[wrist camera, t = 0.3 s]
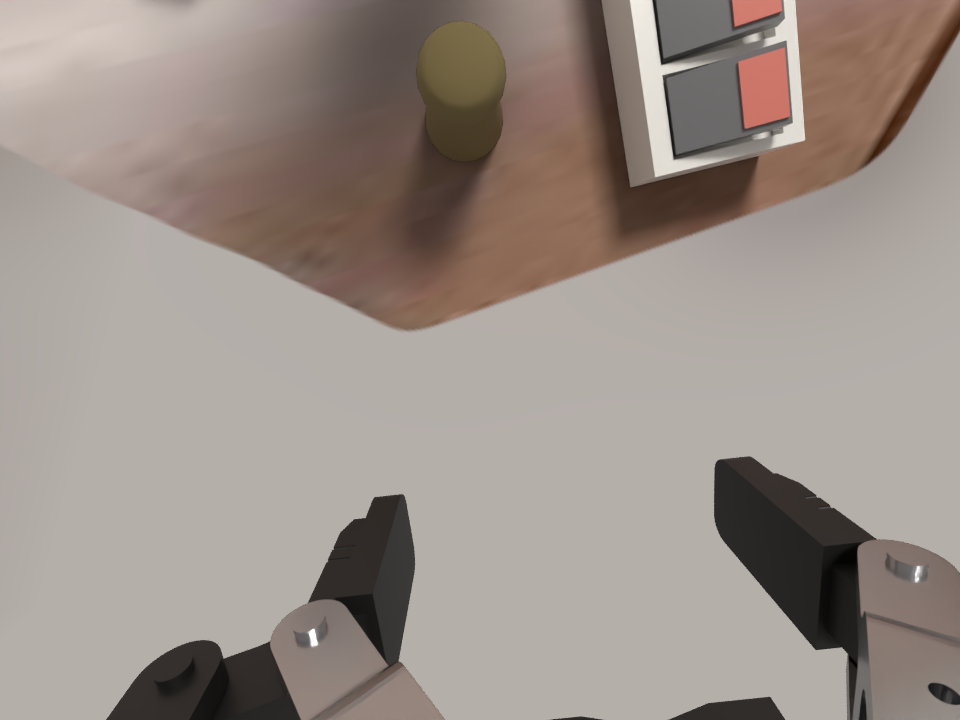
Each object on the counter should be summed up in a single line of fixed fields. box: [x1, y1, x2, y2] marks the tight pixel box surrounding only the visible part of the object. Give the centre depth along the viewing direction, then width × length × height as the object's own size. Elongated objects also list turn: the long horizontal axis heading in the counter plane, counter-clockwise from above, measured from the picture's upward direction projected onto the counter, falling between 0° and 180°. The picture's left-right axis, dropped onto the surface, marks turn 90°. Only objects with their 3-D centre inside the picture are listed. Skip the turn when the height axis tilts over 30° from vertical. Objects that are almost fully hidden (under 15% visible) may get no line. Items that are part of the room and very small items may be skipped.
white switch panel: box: [601, 0, 805, 188], centre depth 32 cm, size 19×10×5 cm, turn 13°
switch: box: [664, 40, 793, 157], centre depth 30 cm, size 5×7×1 cm
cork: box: [416, 21, 506, 162], centre depth 31 cm, size 6×6×11 cm
